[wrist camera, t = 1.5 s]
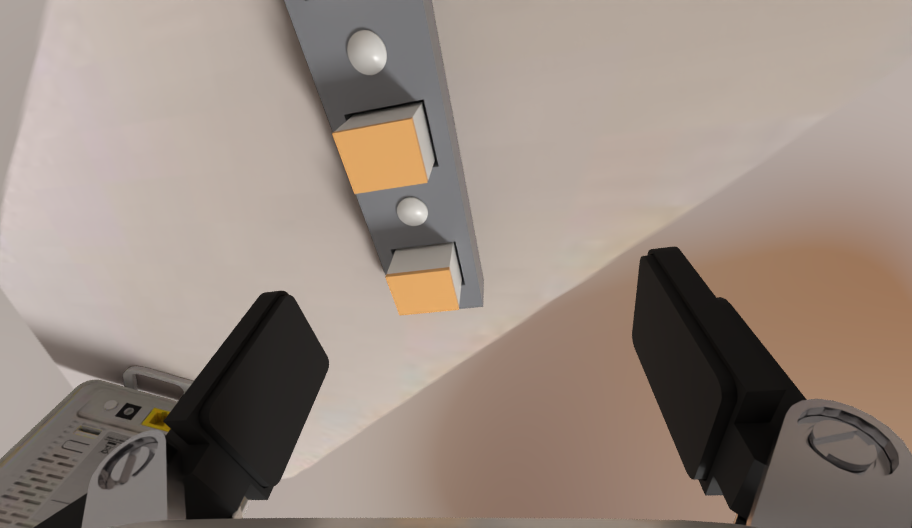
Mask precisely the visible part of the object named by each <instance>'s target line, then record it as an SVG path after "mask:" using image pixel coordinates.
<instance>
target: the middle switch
mask: <svg viewBox="0 0 912 528" xmlns="http://www.w3.org/2000/svg"><path fill="white" fill-rule="evenodd" d="M332 135H333V138H334V140H335V143H336V146H337V148H338V151H339V154H340V156H341V159H342V162H343V164H344V167H345V170H346V173H347V175H348V178H349V181H350V183H351V186H352V189H353V191H354V194H358V193H365V192H371V191H378V190H384V189H391V188H397V187H404V186H410V185H417V184H423V183H428V179H429V176H430V173H431V170H432V167H433V164H434V161H435V154H434V150H433V145H432V141H431V136H430V132H429V128H428V123H427V119H426V114H425V110H424V105H423V102H418V103H413V104H407V105H402V106H397V107H392V108H386V109H381V110H376V111H371V112H366V113H360V114H355V115H353V116H352V117H351V118H350V119H348V120H347V121H346V122H345V123H344V124H343V125H341V126H340V127H339V128H338V129H337V130H336V131H334V132H333V133H332Z"/></svg>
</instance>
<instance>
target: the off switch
mask: <svg viewBox="0 0 912 528" xmlns="http://www.w3.org/2000/svg"><path fill="white" fill-rule="evenodd" d="M385 278H386V280H387V283H388V286H389V288H390V291H391V294H392V296H393V299H394V302H395V304H396V307H397V310H398V312H399V315H409V314H420V313H430V312H441V311H451V310H459V303H460V292H461V282H462V274H461V269H460V265H459V260H458V256H457V251H456V247H455V243H454V242H447V243H439V244H431V245H423V246H415V247H407V248H399V249H396V250H395V253H394V255H393V258H392V261H391V264H390V266H389V269H388V272H387V274H386V277H385Z"/></svg>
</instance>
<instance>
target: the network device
mask: <svg viewBox="0 0 912 528" xmlns="http://www.w3.org/2000/svg"><path fill="white" fill-rule="evenodd" d="M136 374H140V375H144V376H147V377H151V378H154V379H158V380H161V381H165V382H168V383H172V384H175V385H178V386H179V387H181V388H182V389H183V391H184V393H185V392H186V391H187V390H188V388H189V387H190V386H191V384H192V383H193V382H194V381H191V380H188V379H184V378H181V377H177V376H174V375H170V374H167V373H163V372H160V371H156V370H153V369H149V368H146V367H141V366H133V367H129V368H128V369H127V370H126V371H125V372H124V373H123V381H124V386H125V387H124V386H120V385H117V384H113V383H109V382H106V381H102V380H90V381H86V382H84V383H82V384H80V385H79V386H77V387H76V388H75V389H74V390H73V391H72V392H71V393H70V394H69V395H68V396H67V397H66V398H65V399H63V401H62V402H60V403H59V404H58V405H57V406H56V407H55V408H54V409H53V410H52V411H51V412H50V413H49V414H48V415H47V416H46V417H44V418H43V419H42V420H41V421H40V422H39V423H38V424H37V425H36V426H35V427H34V428H33V429H32V430H31V431H30V432H29V433H27V434H26V435H25V436H24V437H23V438H22V439H21V440H20V441H19V442H18V443H17V444H16V445H15V446H14V447H13V448H12V449H10V450H9V451H8V452H7V453H6V454H5V455H4V456H3V457H2V458H1V459H0V528H33V527H35V526H36V525H38V524H40V523H41V522H43V521H44V520H46V519H47V518H49V517H50V516H52V515H54V514H55V513H57V512H58V511H60V510H61V509H63V508H64V507H66V506H68V505H69V504H71V503H72V502H74V501H75V500H77V499H78V498H80V497H81V496H83V495H85V494H86V493H88V487H89V483H90V480H91V477H92V475H93V473H94V472H95V470H96V469H97V467H98V466H99V464H100V463H101V462H102V461H103V460H104V459H105V458H106V457H107V455H108V454H110V453H111V452H112V451H113V450H114V449H115V448H117V447H118V446H119V445H120V444H122V443H123V442H125V441H126V440H128V439H129V438H131V437H133V436H135V435H137V434H140V433H142V432H146V431H150V430H159V431H161V432H162V433H164V434H165V435H167V433H168V432H169V430H170V429H171V428H169V427H168V426H167V425H166V424H165V423H164V422H163V421H164V419H165V418H166V417H167V416H168V414H169V413H170V412H171V410H172V409H173V408H174V406H175V405H176V404H177V403H178V401H174V400H171V399H167V398H163V397H160V396H156V395H153V394H149V393H145V392H142V391H138V386H137V380H136ZM250 501H251V500H248V499H247V498H246V497H245V496H244V498H243V500H242V502H241V504H240V506H241V511H242V517H243V516H244V514H245V512H246V509H247V508H248V506H249V503H250Z"/></svg>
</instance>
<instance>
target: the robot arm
mask: <svg viewBox="0 0 912 528" xmlns="http://www.w3.org/2000/svg"><path fill="white" fill-rule="evenodd" d="M632 339H633V344H634V347H635V350H636V352H637V355H638V357H639V360H640V362H641V364H642V367H643V369H644V372H645V374H646V376H647V379H648V381H649V384H650V386H651V388H652V391H653V393H654V396H655V398H656V400H657V403H658V405H659V407H660V410H661V412H662V415H663V417H664V419H665V422H666V424H667V427H668V429H669V431H670V434H671V436H672V438H673V440H674V443H675V446H676V448H677V450H678V453H679V455H680V458H681V460H682V462H683V464H684V467H685V470H686V472H687V474H688V475H689V477H690V478H691V479H698V480H699V482H700V484H701V486H702V489H703V491H704V493H705V495H724V498H725V500H726V502H727V504H728V506H729V508H730V509H731V510H732V511H734V512H735V513H736V515H735V518H734V521H733V524H727V523H715V522H714V523H713V522H699V521H685V520H644V519H642V520H641V519H639V520H638V519H597V518H257V519H256V518H252V519H251V518H250V519H249V518H248V519H247V518H246V519H245V518H244V519H243V517H242V511H241V506H240V504H241V502H242V500H243V498H244V496H245V497H246V498H247V499H248V500H268V498H269V496H270V493H271V491H272V489H273V487H274V486H275V485H277V484H278V483H279V481H280V479H281V478H282V475H283V473H284V471H285V468H286V466H287V464H288V461H289V459H290V457H291V454H292V452H293V450H294V447H295V445H296V443H297V440H298V438H299V436H300V434H301V431H302V429H303V427H304V424H305V422H306V420H307V417H308V415H309V413H310V410H311V408H312V406H313V403H314V401H315V399H316V396H317V394H318V392H319V390H320V387H321V385H322V383H323V380H324V378H325V376H326V373H327V371H328V368H329V360H328V357H327V355H326V353H325V351H324V350H323V348H322V346H321V344H320V343H319V341H318V339H317V337H316V335H315V334H314V332H313V330H312V328H311V327H310V325H309V323H308V321H307V320H306V318H305V316H304V314H303V313H302V311H301V309H300V307H299V305H298V304H297V302H296V300H295V299H294V297H293V296H291V295H289V294H288V293H287V292H285V291H275V292H266V293H262V294H261V295H260V296H259V297H258V299H257V300H256V301H255V302H254V304H253V305H252V306H251V308H250V309H249V310H248V312H247V313H246V314H245V315H244V317H243V318H242V319H241V321H240V322H239V323H238V325H237V326H236V327H235V328H234V330H233V331H232V332H231V334H230V335H229V336H228V338H227V339H226V340H225V341H224V343H223V344H222V345H221V347H220V348H219V349H218V351H217V352H216V353H215V354H214V356H213V357H212V358H211V360H210V361H209V362H208V364H207V365H206V366H205V367H204V369H203V370H202V371H201V373H200V374H199V375H198V377H197V378H196V379H195V380H194V382H193V383H192V384H191V386H190V387H189V388H188V390H187V391H186V392H185V393H184V395H183V396H182V397H181V399H180V400H179V401H178V403H177V404H176V405H175V406H174V408H173V409H172V410H171V412H170V413H169V414H168V416H167V417H166V418H165V419H164V421H163V422H164V423H165V424H166V425H167V426H168V427H169V428H171V429H170V430H169V432H168V433H167V435H165V434H164V433H162V432H161V431H159V430H150V431H146V432H142V433H140V434H137V435H135V436H133V437H131V438H129V439H128V440H126V441H125V442H123V443H122V444H120V445H119V446H118V447H117V448H115V449H114V450H113V451H112V452H111V453H110V454H108V455H107V457H106V458H105V459H104V460H103V461H102V462H101V463H100V464H99V466H98V467H97V469H96V470H95V472H94V473H93V475H92V477H91V480H90V483H89V487H88V493H86V494H85V495H83V496H81V497H80V498H78V499H77V500H75V501H74V502H72V503H71V504H69V505H68V506H66V507H64V508H63V509H61V510H60V511H58V512H57V513H55V514H54V515H52V516H50V517H49V518H47V519H46V520H44V521H43V522H41V523H40V524H38V525H36V526H35V527H33V528H912V454H911V453H910V451H909V449H908V448H907V447H906V445H905V443H904V442H903V440H902V439H900V438H899V437H898V436H897V435H896V434H895V433H894V432H893V431H892V430H891V429H890V428H889V427H888V426H886V425H885V424H883V423H882V422H880V421H879V420H877V419H876V418H874V417H873V416H871V415H869V414H867V413H865V412H863V411H861V410H859V409H857V408H854V407H852V406H849V405H846V404H843V403H839V402H836V401H831V400H823V399H811V400H806V398H805V397H804V396H803V395H802V393H801V392H800V391H799V390H798V388H797V387H796V386H795V384H794V383H793V382H792V381H791V380H790V378H789V377H788V376H787V374H786V373H785V372H784V371H783V369H782V368H781V367H780V366H779V364H778V363H777V362H776V361H775V359H774V358H773V357H772V355H771V354H770V353H769V352H768V351H767V349H766V348H765V347H764V346H763V344H762V343H761V342H760V340H759V339H758V338H757V337H756V335H755V334H754V333H753V332H752V330H751V329H750V328H749V327H748V325H747V324H746V323H745V321H744V320H743V319H742V318H741V316H740V315H739V314H738V313H737V312H736V310H735V309H734V308H733V306H732V305H731V304H730V303H729V302H728V301H727V300H726V299H724V298H721V297H719V298H716V297H715V295H714V294H713V293H712V291H711V290H710V289H709V287H708V286H707V285H706V283H705V282H704V281H703V280H702V278H701V277H700V276H699V274H698V273H697V272H696V270H695V269H694V268H693V266H692V265H691V264H690V262H689V261H688V260H687V259H686V257H685V256H684V255H683V253H682V252H681V251H680V249H679V248H678V247H667V248H658V249H651V250H649V252H648V255H647V256H642V257H641V259H640V265H639V274H638V284H637V293H636V303H635V311H634V321H633V330H632Z"/></svg>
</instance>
